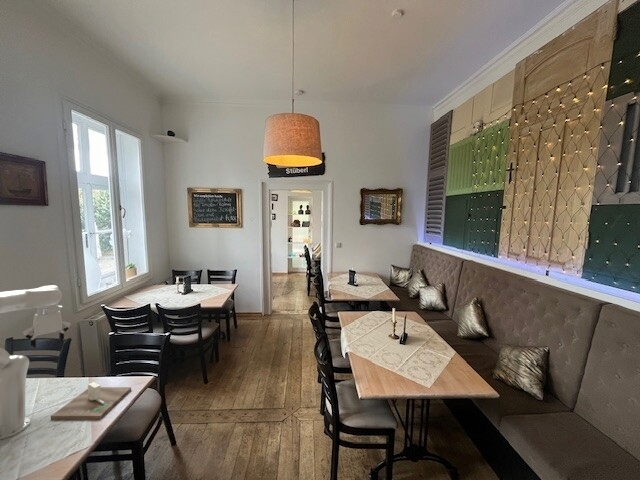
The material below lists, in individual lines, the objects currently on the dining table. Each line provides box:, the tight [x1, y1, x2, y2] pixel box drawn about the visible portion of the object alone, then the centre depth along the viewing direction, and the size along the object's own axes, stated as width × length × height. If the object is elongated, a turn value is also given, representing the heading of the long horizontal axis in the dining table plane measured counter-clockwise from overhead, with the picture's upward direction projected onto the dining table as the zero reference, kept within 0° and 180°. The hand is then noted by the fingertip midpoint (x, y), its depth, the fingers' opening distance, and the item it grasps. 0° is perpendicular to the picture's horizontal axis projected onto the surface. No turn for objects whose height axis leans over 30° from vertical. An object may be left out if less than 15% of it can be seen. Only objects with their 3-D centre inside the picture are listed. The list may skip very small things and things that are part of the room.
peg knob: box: [87, 381, 104, 404], centre depth 131 cm, size 12×3×7 cm, turn 64°
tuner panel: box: [50, 386, 132, 420], centre depth 131 cm, size 22×21×2 cm
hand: (47, 343), depth 136 cm, fingers open, 9 cm apart
